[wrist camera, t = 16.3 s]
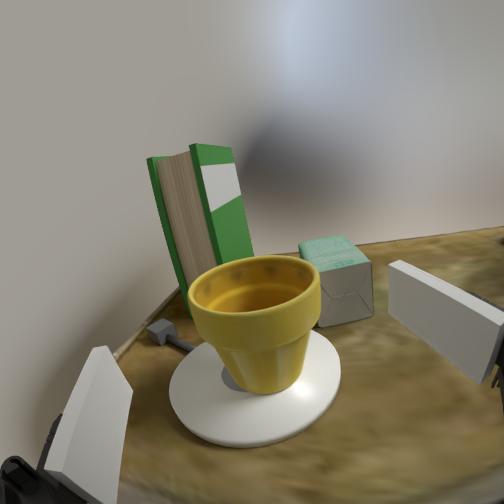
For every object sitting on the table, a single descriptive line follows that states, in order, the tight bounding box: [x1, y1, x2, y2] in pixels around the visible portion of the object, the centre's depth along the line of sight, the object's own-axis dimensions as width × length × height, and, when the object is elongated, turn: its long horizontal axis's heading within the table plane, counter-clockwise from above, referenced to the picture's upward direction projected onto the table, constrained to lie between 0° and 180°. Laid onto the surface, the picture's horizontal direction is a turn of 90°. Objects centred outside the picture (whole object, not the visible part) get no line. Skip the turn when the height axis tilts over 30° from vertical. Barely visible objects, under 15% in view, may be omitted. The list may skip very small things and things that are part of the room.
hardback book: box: [147, 143, 254, 319], centre depth 44 cm, size 18×7×24 cm, turn 169°
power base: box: [146, 318, 341, 448], centre depth 28 cm, size 26×17×2 cm, turn 51°
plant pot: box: [187, 255, 321, 394], centre depth 23 cm, size 10×10×10 cm
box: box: [298, 235, 374, 328], centre depth 36 cm, size 7×14×8 cm, turn 178°
